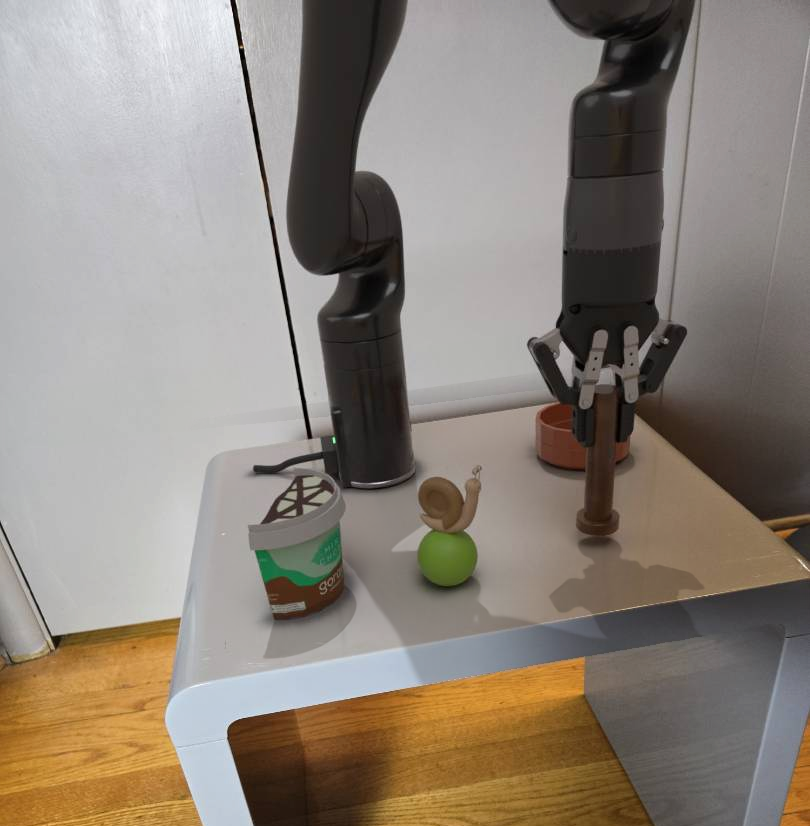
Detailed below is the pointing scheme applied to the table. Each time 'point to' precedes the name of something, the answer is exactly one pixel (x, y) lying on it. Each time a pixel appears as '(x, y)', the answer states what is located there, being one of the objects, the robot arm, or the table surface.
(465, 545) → the snail figurine
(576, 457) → the bowl
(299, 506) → the food container
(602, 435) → the muddler
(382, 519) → the table surface
